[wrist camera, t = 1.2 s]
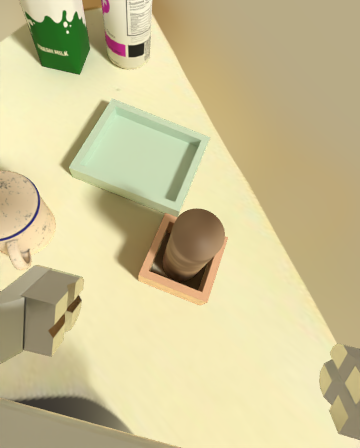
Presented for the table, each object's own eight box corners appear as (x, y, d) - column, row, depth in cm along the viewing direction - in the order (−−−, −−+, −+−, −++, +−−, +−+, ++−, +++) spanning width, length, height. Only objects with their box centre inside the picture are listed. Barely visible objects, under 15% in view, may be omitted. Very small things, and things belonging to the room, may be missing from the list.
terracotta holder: (138, 280, 41) (138, 275, 37) (162, 223, 45) (165, 212, 40) (200, 305, 41) (207, 302, 37) (219, 246, 45) (227, 237, 40)
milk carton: (35, 68, 52) (-22, -77, 33) (51, 35, 55) (7, -114, 37) (83, 79, 53) (53, -58, 34) (96, 46, 56) (75, -96, 37)
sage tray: (72, 176, 45) (68, 167, 43) (113, 110, 51) (112, 98, 48) (177, 218, 45) (179, 211, 43) (206, 147, 51) (210, 137, 48)
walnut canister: (156, 273, 42) (164, 246, 29) (170, 239, 44) (183, 201, 31) (191, 287, 42) (215, 267, 29) (203, 253, 44) (231, 220, 31)
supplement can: (105, 69, 54) (94, -22, 40) (109, 38, 57) (100, -56, 43) (148, 74, 55) (152, -13, 41) (150, 44, 58) (154, -47, 44)
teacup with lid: (-15, 210, 42) (-68, 168, 31) (50, 193, 44) (21, 148, 33) (1, 288, 38) (-53, 271, 27) (70, 265, 41) (45, 241, 30)
